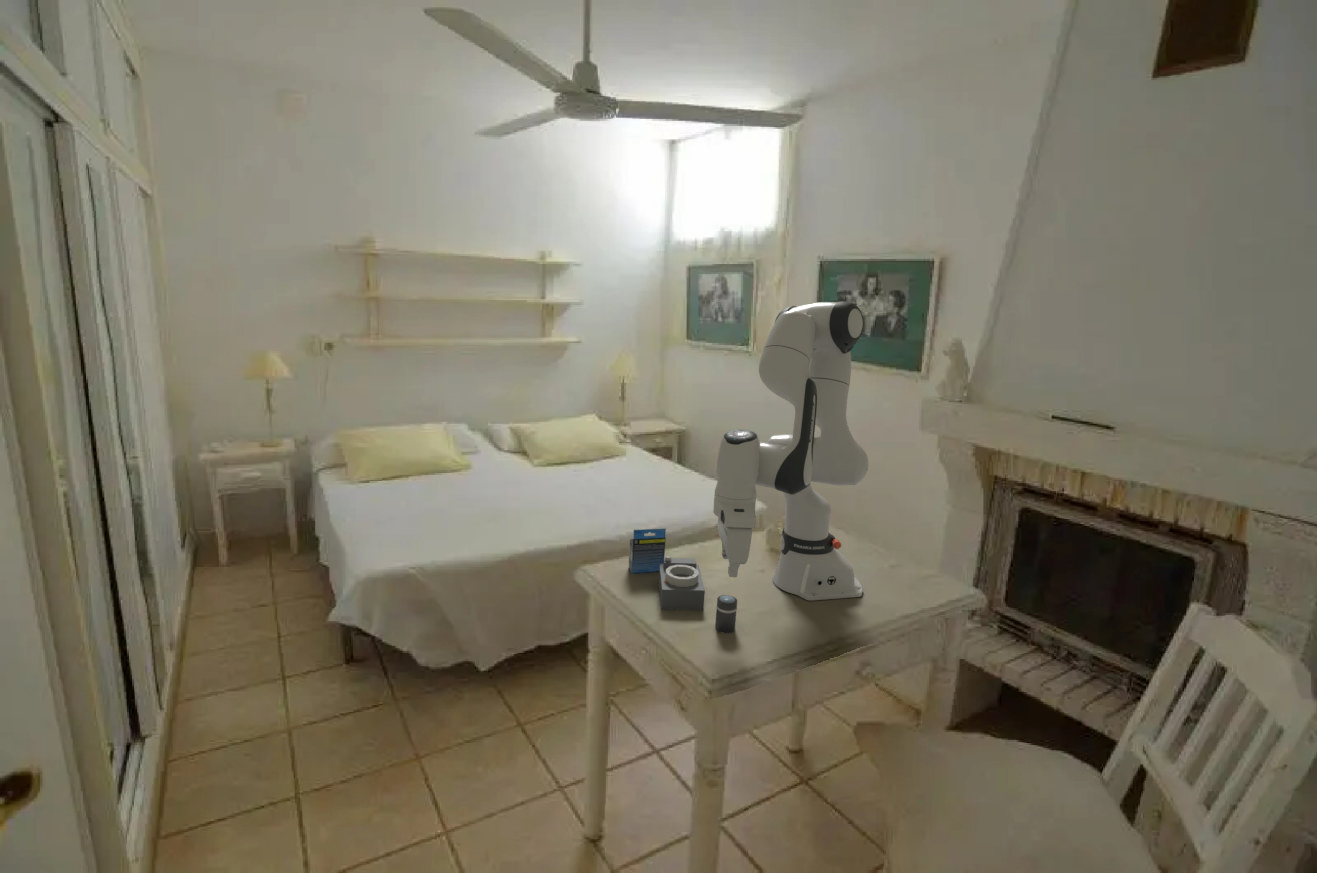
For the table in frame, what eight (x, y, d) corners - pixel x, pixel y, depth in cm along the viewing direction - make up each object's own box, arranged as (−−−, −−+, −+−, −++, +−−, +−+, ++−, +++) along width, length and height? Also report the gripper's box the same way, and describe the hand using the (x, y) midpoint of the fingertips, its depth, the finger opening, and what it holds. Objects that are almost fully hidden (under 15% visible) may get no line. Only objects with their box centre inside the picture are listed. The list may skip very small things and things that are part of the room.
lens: (733, 623, 151) (735, 594, 149) (736, 633, 146) (739, 604, 144) (713, 622, 150) (715, 594, 149) (716, 633, 146) (718, 603, 144)
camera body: (697, 582, 169) (699, 555, 168) (703, 610, 156) (705, 580, 154) (658, 582, 169) (660, 554, 167) (661, 609, 155) (662, 579, 153)
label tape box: (660, 565, 179) (662, 522, 176) (664, 572, 175) (666, 528, 172) (628, 567, 176) (629, 524, 173) (631, 574, 172) (633, 530, 170)
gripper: (713, 490, 151) (709, 547, 154) (726, 522, 131) (721, 586, 134) (741, 492, 152) (736, 548, 155) (757, 523, 132) (751, 587, 135)
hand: (729, 566), depth 144 cm, fingers open, 8 cm apart
